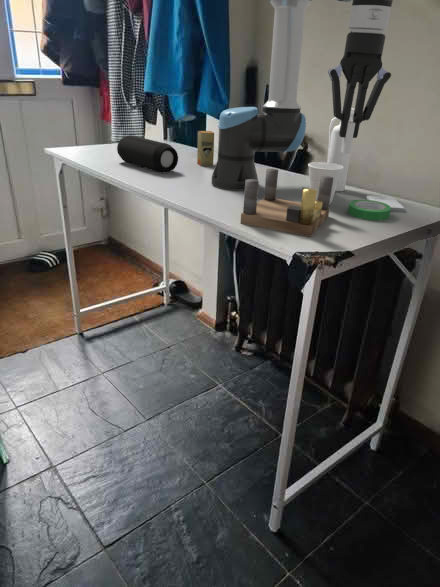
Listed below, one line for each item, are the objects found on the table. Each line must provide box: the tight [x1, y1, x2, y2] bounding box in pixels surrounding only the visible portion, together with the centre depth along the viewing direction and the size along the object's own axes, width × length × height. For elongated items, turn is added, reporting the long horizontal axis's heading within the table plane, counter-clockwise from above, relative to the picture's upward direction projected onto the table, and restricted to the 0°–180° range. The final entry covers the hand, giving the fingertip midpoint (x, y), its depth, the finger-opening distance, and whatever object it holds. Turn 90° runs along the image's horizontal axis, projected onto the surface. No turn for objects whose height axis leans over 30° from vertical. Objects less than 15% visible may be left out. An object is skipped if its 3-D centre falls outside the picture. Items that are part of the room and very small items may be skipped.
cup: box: [307, 161, 344, 206], centre depth 128 cm, size 10×10×11 cm
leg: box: [299, 187, 323, 224], centre depth 107 cm, size 11×3×8 cm, turn 151°
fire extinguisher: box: [326, 106, 355, 192], centre depth 141 cm, size 7×12×25 cm, turn 39°
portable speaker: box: [116, 135, 179, 174], centre depth 161 cm, size 26×10×10 cm, turn 45°
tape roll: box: [347, 199, 392, 222], centre depth 123 cm, size 11×11×3 cm
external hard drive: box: [365, 194, 406, 213], centre depth 133 cm, size 2×8×12 cm
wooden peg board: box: [240, 168, 333, 237], centre depth 113 cm, size 18×18×10 cm
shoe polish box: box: [196, 130, 215, 167], centre depth 169 cm, size 5×5×12 cm
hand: (345, 152), depth 101 cm, fingers closed
